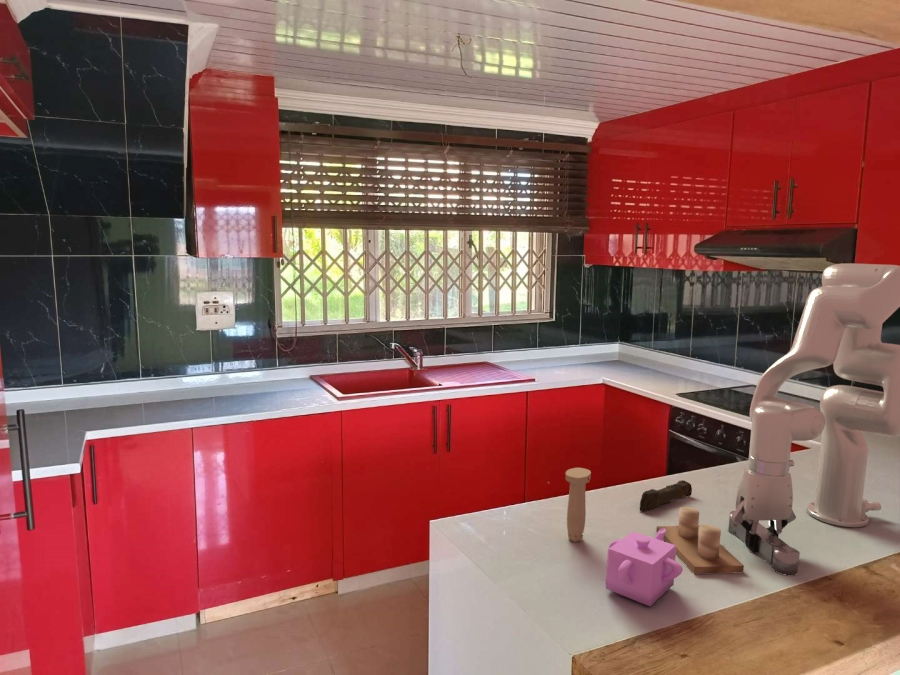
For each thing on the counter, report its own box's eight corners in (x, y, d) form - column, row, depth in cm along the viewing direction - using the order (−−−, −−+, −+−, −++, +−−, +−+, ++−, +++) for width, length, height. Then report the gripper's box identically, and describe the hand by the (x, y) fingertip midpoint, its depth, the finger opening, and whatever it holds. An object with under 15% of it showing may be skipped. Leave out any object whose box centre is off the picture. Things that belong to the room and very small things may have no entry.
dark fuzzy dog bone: (678, 492, 165) (679, 475, 165) (692, 497, 162) (693, 480, 161) (630, 509, 154) (631, 490, 154) (644, 514, 151) (645, 496, 151)
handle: (558, 541, 136) (561, 474, 134) (571, 530, 141) (574, 466, 139) (579, 547, 133) (582, 479, 131) (591, 536, 138) (594, 470, 136)
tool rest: (699, 531, 142) (701, 501, 141) (743, 572, 124) (746, 538, 123) (656, 532, 141) (658, 502, 140) (694, 574, 123) (696, 540, 122)
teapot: (631, 560, 128) (634, 512, 127) (700, 585, 119) (704, 534, 118) (586, 595, 115) (588, 543, 114) (660, 626, 106) (663, 570, 105)
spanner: (743, 527, 144) (745, 510, 144) (802, 575, 124) (804, 556, 123) (724, 527, 144) (725, 510, 143) (780, 575, 123) (782, 556, 123)
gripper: (794, 459, 136) (787, 540, 138) (720, 460, 134) (714, 542, 137) (818, 471, 128) (809, 556, 131) (739, 472, 127) (732, 559, 129)
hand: (760, 548), depth 134 cm, fingers closed on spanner, 3 cm apart
